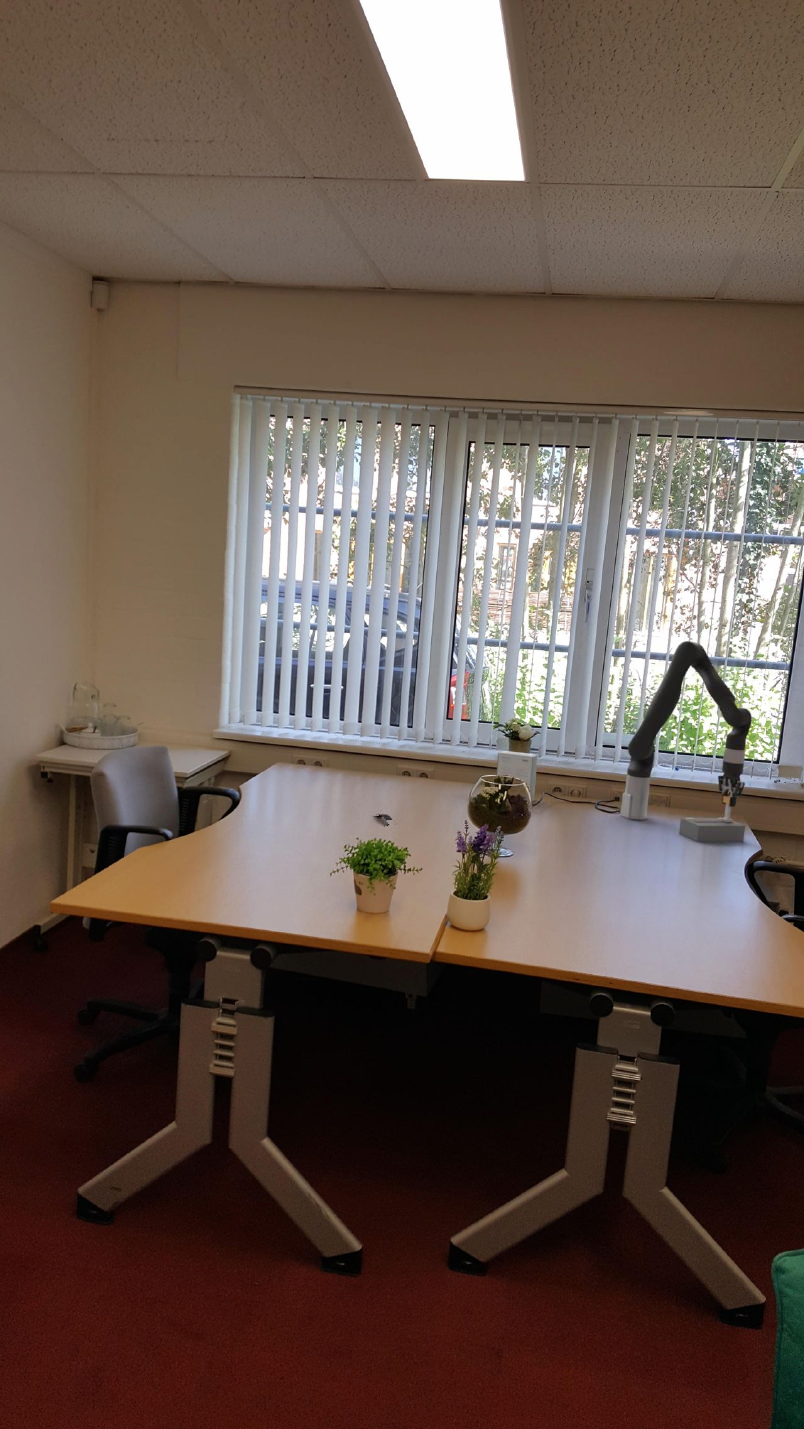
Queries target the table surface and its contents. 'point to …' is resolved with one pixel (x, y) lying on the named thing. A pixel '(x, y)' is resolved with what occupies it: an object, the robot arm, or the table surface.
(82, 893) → the table surface
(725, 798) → the breaker handle
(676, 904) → the table surface
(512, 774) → the hard drive box
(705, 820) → the switch box
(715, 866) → the table surface
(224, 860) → the table surface
